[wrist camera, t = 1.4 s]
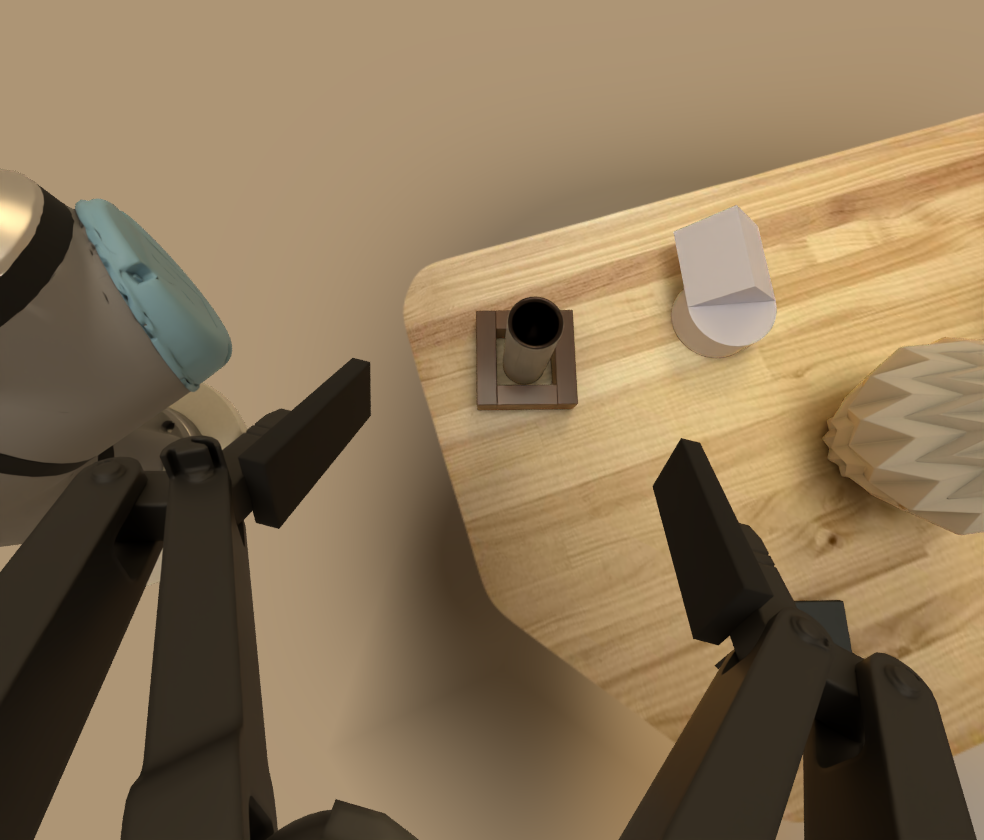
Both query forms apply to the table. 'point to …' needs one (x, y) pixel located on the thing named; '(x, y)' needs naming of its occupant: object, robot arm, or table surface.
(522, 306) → the beige hollow cylinder
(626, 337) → the table surface
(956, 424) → the vase
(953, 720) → the table surface
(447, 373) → the table surface
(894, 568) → the table surface
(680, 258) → the wedge on round base
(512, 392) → the brown square frame
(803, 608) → the mat
